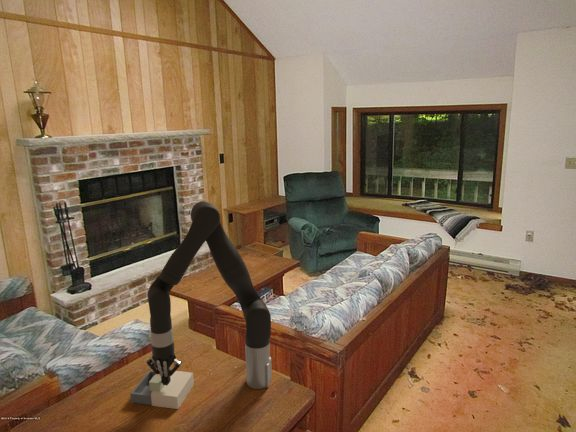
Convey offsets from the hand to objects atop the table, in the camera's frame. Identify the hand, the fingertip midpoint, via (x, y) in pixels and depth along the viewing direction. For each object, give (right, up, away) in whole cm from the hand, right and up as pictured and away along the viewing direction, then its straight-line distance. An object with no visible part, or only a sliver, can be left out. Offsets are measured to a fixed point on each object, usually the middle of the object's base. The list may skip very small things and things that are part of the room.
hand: (166, 383), depth 151 cm
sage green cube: (-3, -2, +1) cm, 4 cm away
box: (-8, -6, +7) cm, 12 cm away
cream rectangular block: (+1, -6, +5) cm, 8 cm away
